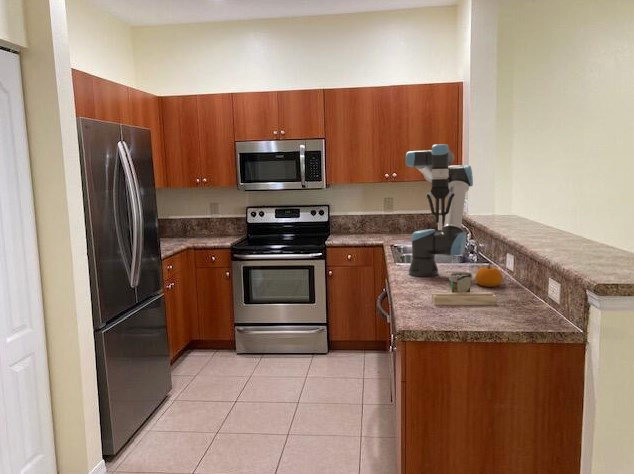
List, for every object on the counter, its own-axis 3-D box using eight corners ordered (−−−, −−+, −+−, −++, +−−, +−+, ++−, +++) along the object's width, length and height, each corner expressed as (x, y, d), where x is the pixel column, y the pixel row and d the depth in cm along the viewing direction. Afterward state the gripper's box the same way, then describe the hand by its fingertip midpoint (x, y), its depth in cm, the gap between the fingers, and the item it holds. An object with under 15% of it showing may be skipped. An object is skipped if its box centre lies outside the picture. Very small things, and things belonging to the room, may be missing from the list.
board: (431, 301, 198) (431, 291, 197) (491, 300, 196) (491, 291, 195) (434, 304, 192) (434, 295, 191) (495, 304, 190) (495, 294, 189)
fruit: (504, 284, 224) (505, 263, 222) (498, 289, 214) (499, 267, 213) (479, 281, 230) (479, 261, 229) (472, 286, 220) (472, 265, 219)
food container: (458, 293, 209) (459, 270, 208) (471, 295, 205) (472, 272, 204) (443, 298, 201) (443, 275, 200) (456, 301, 197) (456, 277, 195)
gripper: (426, 179, 216) (427, 230, 219) (456, 178, 215) (456, 230, 218) (424, 178, 224) (424, 229, 227) (452, 178, 223) (452, 228, 226)
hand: (440, 229), depth 223 cm, fingers closed
